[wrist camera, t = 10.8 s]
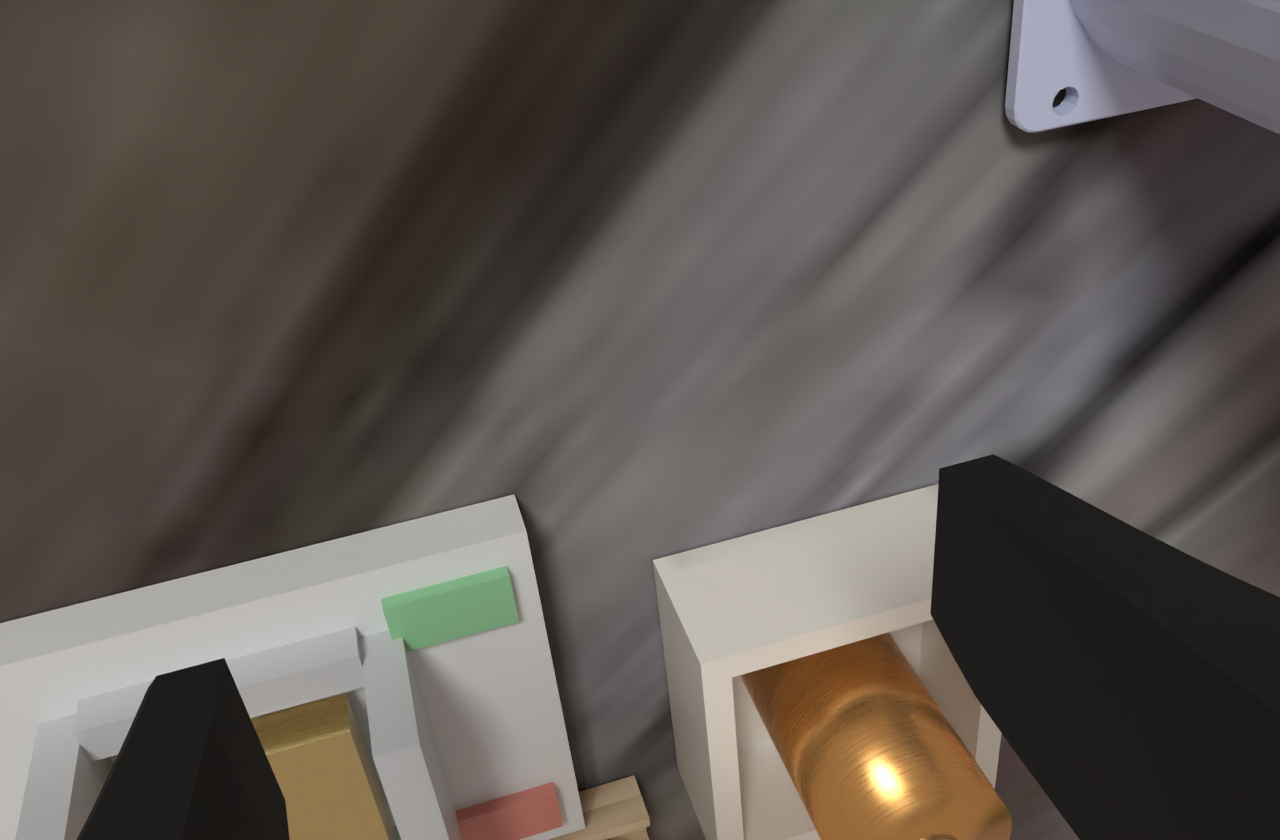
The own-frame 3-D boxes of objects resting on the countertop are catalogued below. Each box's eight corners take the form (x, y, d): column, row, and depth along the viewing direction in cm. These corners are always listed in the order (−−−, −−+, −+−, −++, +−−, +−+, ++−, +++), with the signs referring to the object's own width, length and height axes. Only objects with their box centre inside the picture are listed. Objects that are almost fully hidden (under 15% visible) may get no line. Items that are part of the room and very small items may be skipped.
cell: (820, 557, 25) (969, 785, 20) (898, 625, 27) (1052, 849, 22) (706, 654, 26) (821, 900, 21) (789, 714, 28) (914, 952, 22)
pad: (346, 693, 22) (350, 731, 21) (392, 822, 24) (396, 862, 23) (131, 752, 21) (125, 794, 20) (198, 880, 24) (196, 922, 23)
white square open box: (943, 482, 26) (1021, 572, 23) (929, 691, 29) (994, 789, 27) (652, 560, 24) (700, 664, 22) (677, 767, 28) (720, 876, 26)
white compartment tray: (514, 494, 22) (562, 638, 19) (573, 787, 28) (619, 943, 24) (-144, 659, 20) (-222, 854, 17) (51, 944, 25) (21, 1138, 22)
